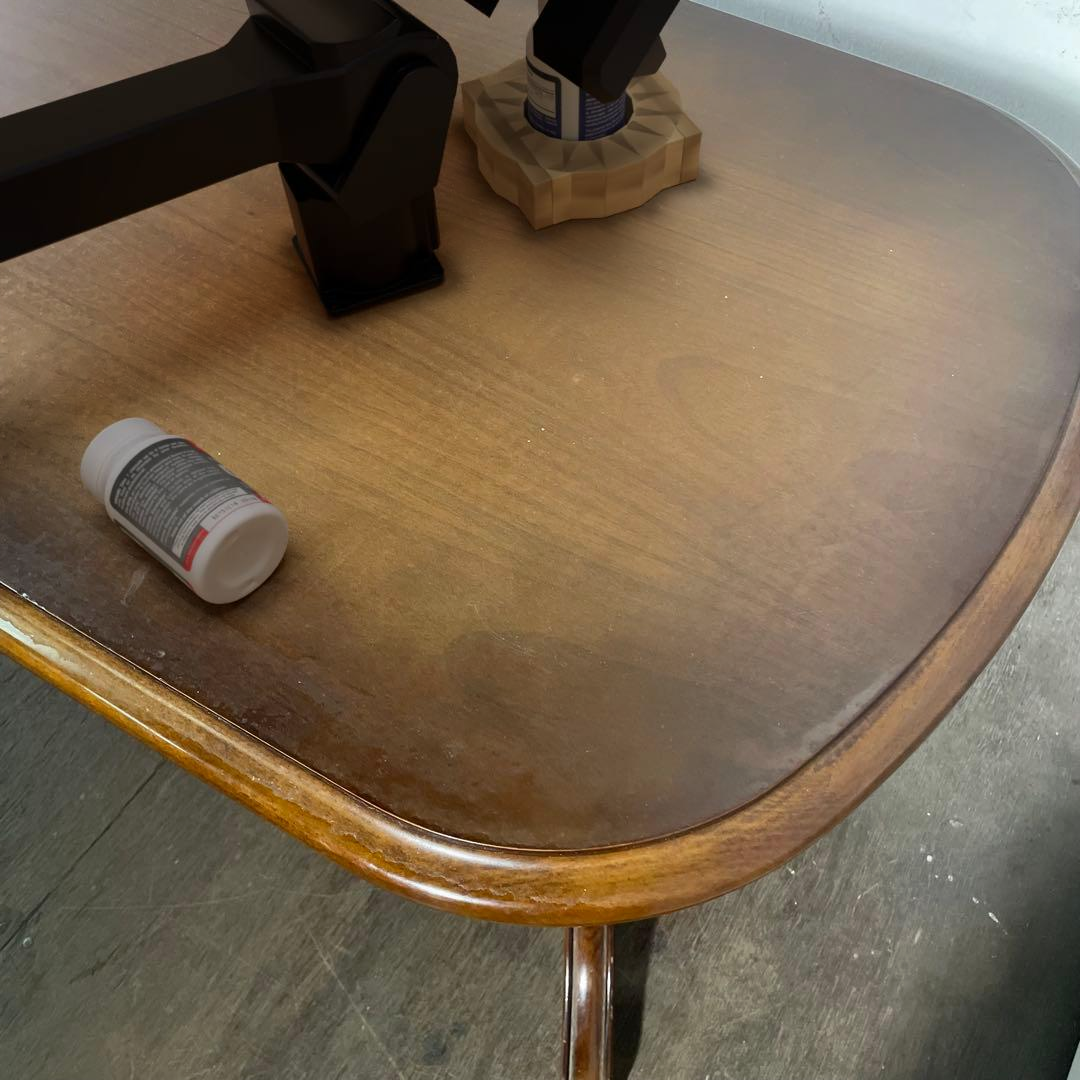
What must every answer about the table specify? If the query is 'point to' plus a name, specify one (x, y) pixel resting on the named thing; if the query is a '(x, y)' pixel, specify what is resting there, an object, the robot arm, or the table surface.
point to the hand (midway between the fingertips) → (599, 24)
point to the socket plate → (579, 150)
